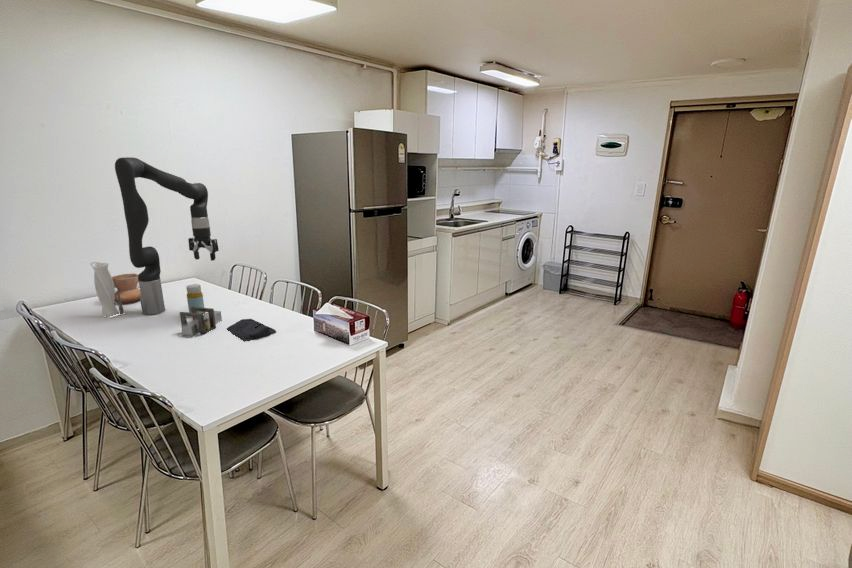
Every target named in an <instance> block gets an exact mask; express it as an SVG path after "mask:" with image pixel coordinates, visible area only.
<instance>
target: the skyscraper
mask: <svg viewBox="0 0 852 568" xmlns="http://www.w3.org/2000/svg"><path fill="white" fill-rule="evenodd" d="M89 264H90V266H91V267H92V269H93V273H94V274H93V277H94V278H93V279H94V280H93V281H94V288H95V292H96V295H97V298H98V301H99V302H100V305H101V307H102V308H101V316H106V317H105V318H107V317H110V316H113V315H116V314H119V312H120V314H123V313H125V311H124V306H123V303H122V301H121V298H120V295H119V293H118V302H117V303H118V308H117V307H116V304H115V301H114V300H115V293H116V292H118V289H117V290H116V289H115V287H114V282H113V279H112V277H113V276H112V274H111V272H110V271H109V269H108V268H109V263H107V262H98V261H97V262H96V261H94V262H90V263H89ZM93 264H94V265H93ZM118 310H119V311H118ZM123 315H124V314H123Z"/></svg>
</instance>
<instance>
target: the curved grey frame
mask: <svg viewBox="0 0 852 568" xmlns="http://www.w3.org/2000/svg"><path fill="white" fill-rule="evenodd" d="M197 311H201V312H205V313H209V321H210V323H205V324H204V317H203V314H200V313H197ZM214 311H215V310H214V308H211V307H209V308H208V307H204V308H201V307H191V313H190V312H189V311H187V312H186V311H180V312H179V317H180V326H181V325H183V324H185V323H187V322H188V320H187V317H188V318H189V317H190V318H191V319H192V320H193V319H196V318H198V323H199V330H200V333H199V335H202V334H204V335H206V334H208V333H210V332H212V331H213V330H216V329H217V324H216V323H215V316H214ZM211 330H212V331H211ZM209 331H210V332H209ZM207 332H208V333H207Z"/></svg>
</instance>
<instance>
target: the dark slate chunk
mask: <svg viewBox="0 0 852 568" xmlns="http://www.w3.org/2000/svg"><path fill="white" fill-rule="evenodd" d="M226 329H227V330H228V331H227V330H226V331H227V332H229V331H230V332H231V333H230V332H229V333H230V334H232V335H233V336H234V335H235V336H234V337H236V338H237V337H238V338H237V339H239V338H240V339H239V340H241V341H242V340H243V341H242V342H251V340H252V341H254V339H255V340H261V339H263V338H266V337H269V336H271V335H273V334H275V333H277V330H275V328H272V327H269V326H268V325H265V324H263V323H262V322H259V321H257V320H256V319H252V318H246V319H245V318H242V319H240V320H238V321H237V322H235V323H234V324H232V325H229V326H228V327H227V328H226Z"/></svg>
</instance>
